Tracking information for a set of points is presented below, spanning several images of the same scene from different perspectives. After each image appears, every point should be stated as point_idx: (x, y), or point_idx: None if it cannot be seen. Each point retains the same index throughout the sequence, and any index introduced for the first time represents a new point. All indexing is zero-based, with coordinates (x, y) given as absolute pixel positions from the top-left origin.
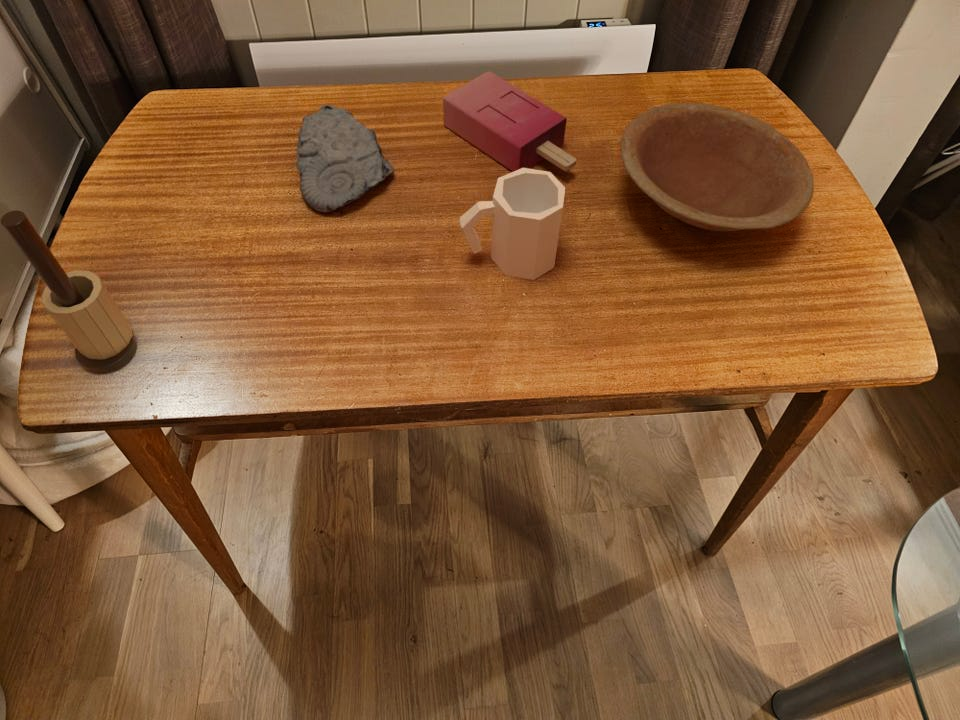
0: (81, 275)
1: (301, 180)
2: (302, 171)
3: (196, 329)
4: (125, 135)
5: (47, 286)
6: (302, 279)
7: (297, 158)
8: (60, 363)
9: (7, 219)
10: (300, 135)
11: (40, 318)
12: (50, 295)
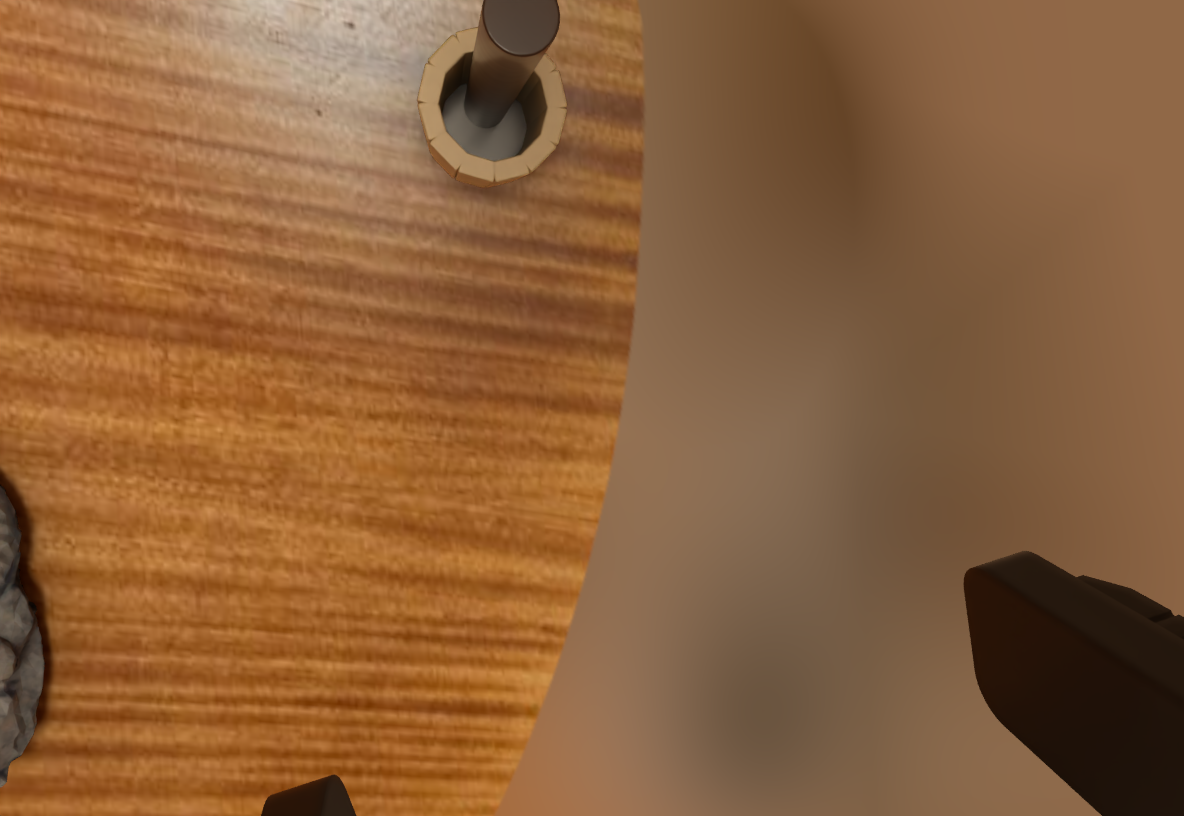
0: (474, 157)
1: (8, 559)
2: (9, 593)
3: (284, 128)
4: (501, 779)
5: (555, 137)
6: (15, 235)
7: (41, 654)
8: (583, 101)
9: (536, 11)
10: (14, 721)
11: (636, 243)
12: (546, 105)
